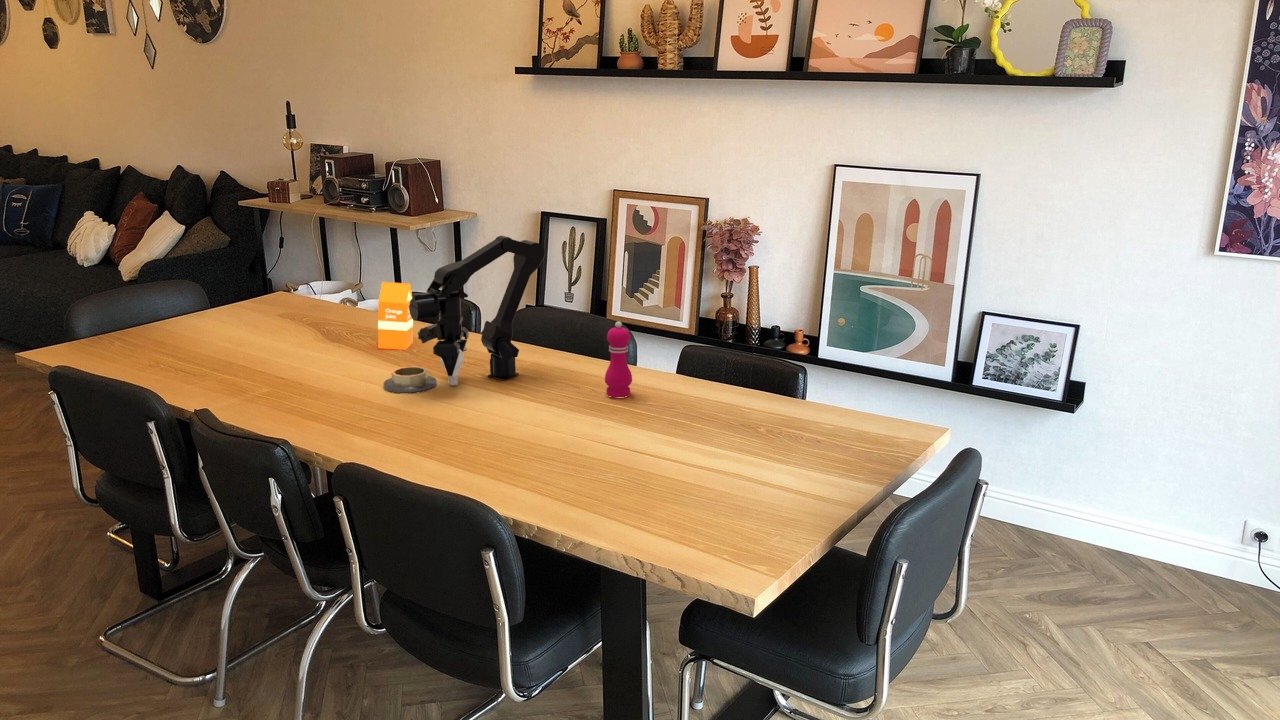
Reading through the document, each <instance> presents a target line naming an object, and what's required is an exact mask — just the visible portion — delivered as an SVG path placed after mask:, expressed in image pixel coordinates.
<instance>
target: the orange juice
mask: <svg viewBox="0 0 1280 720" xmlns="http://www.w3.org/2000/svg"><path fill="white" fill-rule="evenodd" d="M412 294H413V293H412V287H411V283H402V282H393V281H391V282H390V281H382V282H381V286H380V292H379V298H378V301H377V303H378V306H377V307H378V311H377V312H378V313H377V315H378V316H377V317H378V320H377V321H378V322H377V331H378V332H377V338H378V339H377V344H378V345H377V346H378V347H377V348H378V349H387V350H388V349H389V350H390V349H391V350H400V351H401V350H405V351H406V349H407V348H408V347H409V346H410V345H411V344H412V343H413V341H414V339H413V338H414V336H413V335H414V334H413V333H414V320H413V319H412V317H411V315H410V311H409V305H410V300H411V299H412ZM412 345H413V344H412ZM410 347H411V346H410ZM410 347H409V348H410ZM409 348H408V349H409ZM408 349H407V350H408Z"/></svg>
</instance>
